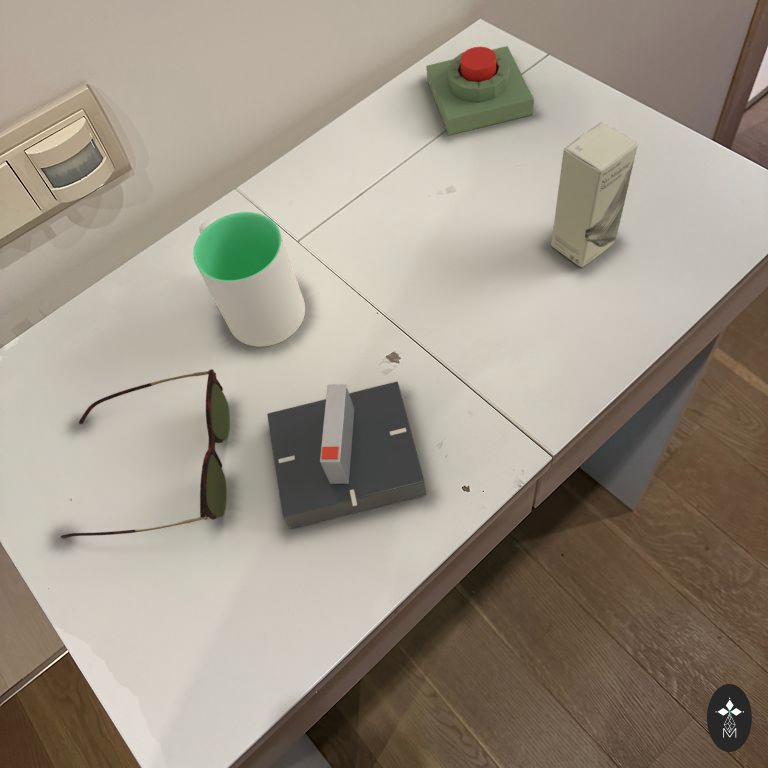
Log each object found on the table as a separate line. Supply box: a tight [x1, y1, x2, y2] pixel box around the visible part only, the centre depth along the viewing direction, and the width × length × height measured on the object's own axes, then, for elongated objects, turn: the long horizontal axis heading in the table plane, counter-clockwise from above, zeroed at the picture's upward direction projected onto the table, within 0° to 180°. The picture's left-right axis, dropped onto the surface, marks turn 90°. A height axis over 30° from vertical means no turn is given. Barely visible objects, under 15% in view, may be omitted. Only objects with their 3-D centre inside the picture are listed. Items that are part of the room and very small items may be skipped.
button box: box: [425, 45, 535, 136], centre depth 87 cm, size 10×10×4 cm
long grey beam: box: [320, 383, 354, 484], centre depth 62 cm, size 7×2×5 cm, turn 177°
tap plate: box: [266, 381, 428, 529], centre depth 65 cm, size 12×11×3 cm
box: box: [550, 121, 639, 268], centre depth 70 cm, size 5×4×13 cm
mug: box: [192, 211, 306, 348], centre depth 72 cm, size 12×8×10 cm, turn 42°
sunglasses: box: [60, 368, 231, 539], centre depth 67 cm, size 14×15×5 cm
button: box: [460, 46, 496, 82], centre depth 84 cm, size 4×4×2 cm
